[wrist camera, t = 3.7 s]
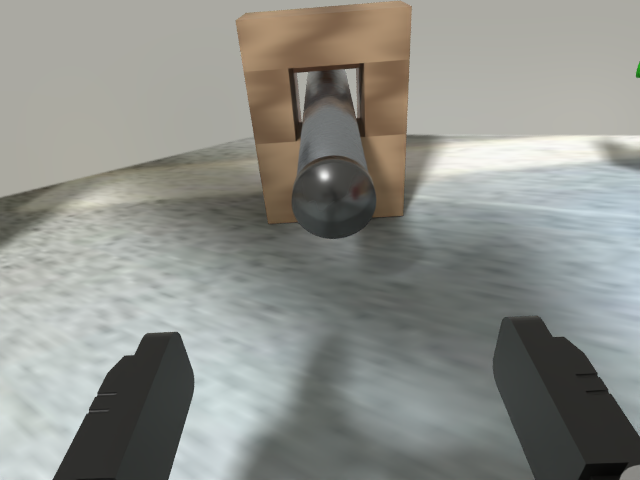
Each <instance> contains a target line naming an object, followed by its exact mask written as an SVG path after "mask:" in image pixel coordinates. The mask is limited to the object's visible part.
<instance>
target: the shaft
mask: <svg viewBox="0 0 640 480" xmlns="http://www.w3.org/2000/svg"><path fill="white" fill-rule="evenodd" d="M376 201H377V200H376V193H375V188H374V184H373V181H372V178H371V176H370V174H369V173H368V169H367V164H366V160H365V156H364V151H363V147H362V142H361V138H360V133H359V129H358V125H357V120H356V116H355V111H354V107H353V102H352V98H351V94H350V89H349V85H348V80H347V76H346V72H345V69H339V70H326V71H313V72H308V76H307V85H306V95H305V104H304V113H303V122H302V131H301V140H300V149H299V159H298V168H297V177H296V179H295V181H294V185H293V191H292V200H291V203H292V210H293V213H294V216H295V218H296V220H297V221H298V222H299V224H300V225H301V226H302V227H303V228H304V229H306V230H307V231H308V232H310V233H312V234H314V235H316V236H319V237H323V238H329V239H338V238H344V237H348V236H350V235H353V234H355V233H357V232H358V231H360V230H361V229H362V228H364V227H365V226H366V225H367V224H368V222H369V221H370V220H371V218H372V216H373V214H374V212H375V208H376Z"/></svg>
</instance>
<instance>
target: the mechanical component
mask: <svg viewBox="0 0 640 480" xmlns="http://www.w3.org/2000/svg"><path fill="white" fill-rule="evenodd" d="M636 77H637V78H640V63H639V65H638V68H637V72H636Z"/></svg>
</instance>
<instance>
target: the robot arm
mask: <svg viewBox="0 0 640 480" xmlns="http://www.w3.org/2000/svg"><path fill="white" fill-rule="evenodd" d="M493 372H494V378H495V381H496V385H497V387H498V390H499V392H500V394H501V397H502V399H503V402H504V404H505V407H506V409H507V412H508V414H509V416H510V419H511V421H512V424H513V426H514V429H515V431H516V434H517V436H518V438H519V441H520V443H521V446H522V448H523V451H524V453H525V456H526V458H527V460H528V463H529V465H530V468H531V470H532V473H533V475H534V478H535V480H640V437H639V435H638V434H637V432H636V431H635V429H634V428H633V426H632V425H631V423H630V422H629V420H628V419H627V417H626V416H625V414H624V413H623V411H622V410H621V408H620V407H619V405H618V404H617V402H616V401H615V399H614V398H613V396H612V395H611V394H609V392H608V389H607V387H606V385H605V384H604V382H603V381H602V379H601V378H600V377H598V376H597V372H596V370H595V369H594V367H593V366H592V364H591V363H590V361H589V360H588V358H587V357H586V355H585V354H584V353H583V352H582V351H581V350H579V349H578V348H577V347H576V346H575V345H573V344H572V343H571V342H570V341H568V340H567V339H566V338H565V337H552V335H551V333H550V332H549V330H548V329H547V327H546V325H545V324H544V322H543V321H542V319H541V318H540V317H538V316H520V317H505V318H504V319H503V320H502V323H501V327H500V331H499V336H498V340H497V345H496V349H495V353H494V358H493ZM193 392H194V373H193V369H192V367H191V364H190V361H189V358H188V355H187V352H186V349H185V347H184V344H183V341H182V338H181V336H180V334H179V333H178V332H163V333H147V334H145V335H144V337H143V338H142V340H141V342H140V344H139V346H138V349H137V351H136V353H135V355H130V356H124V357H123V358H122V359H121V360H120V361H119V362H118V363H117V364H116V365H115V366H114V367H113V368H112V369H111V370H110V371H109V372H108V373H107V375H106V377H105V379H104V381H103V383H102V385H101V387H100V389H99V391H98V393H97V394H98V395H97V397H95V398H94V400H93V402H92V404H91V406H90V408H89V413H88V414H86V416H85V418H84V420H83V422H82V424H81V426H80V428H79V430H78V432H77V434H76V435H75V437H74V439H73V441H72V443H71V445H70V447H69V449H68V451H67V453H66V455H65V457H64V459H63V461H62V463H61V465H60V467H59V469H58V471H57V472H56V474H55V476H54V478H53V480H168V479H169V475H170V472H171V468H172V465H173V462H174V458H175V455H176V451H177V448H178V445H179V441H180V438H181V434H182V431H183V428H184V424H185V421H186V417H187V414H188V410H189V407H190V404H191V400H192V397H193Z"/></svg>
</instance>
